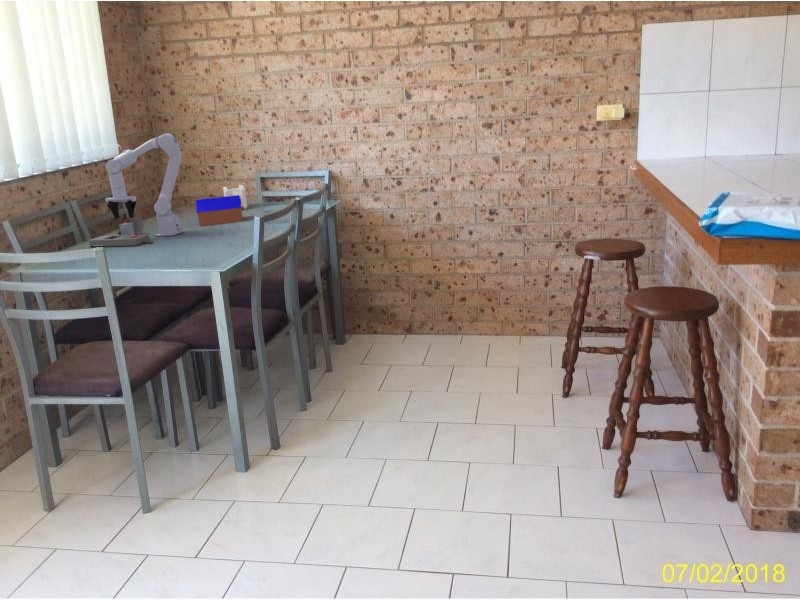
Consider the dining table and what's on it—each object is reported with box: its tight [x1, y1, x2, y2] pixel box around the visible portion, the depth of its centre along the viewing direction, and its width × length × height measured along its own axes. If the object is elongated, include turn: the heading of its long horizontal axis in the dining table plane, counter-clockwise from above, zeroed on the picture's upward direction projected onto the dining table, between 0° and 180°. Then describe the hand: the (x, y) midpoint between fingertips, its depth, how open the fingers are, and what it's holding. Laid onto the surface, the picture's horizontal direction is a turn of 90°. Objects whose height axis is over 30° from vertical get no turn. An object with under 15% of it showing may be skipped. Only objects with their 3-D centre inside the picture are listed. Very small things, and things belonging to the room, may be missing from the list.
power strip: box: [88, 233, 154, 248], centre depth 319 cm, size 29×9×4 cm, turn 72°
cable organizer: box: [222, 184, 248, 210], centre depth 384 cm, size 15×11×12 cm
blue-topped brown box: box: [195, 195, 243, 227], centre depth 350 cm, size 12×20×12 cm, turn 100°
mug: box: [117, 216, 145, 235], centre depth 337 cm, size 10×8×10 cm
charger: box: [118, 222, 135, 235], centre depth 329 cm, size 4×4×7 cm
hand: (124, 218), depth 328 cm, fingers open, 7 cm apart
